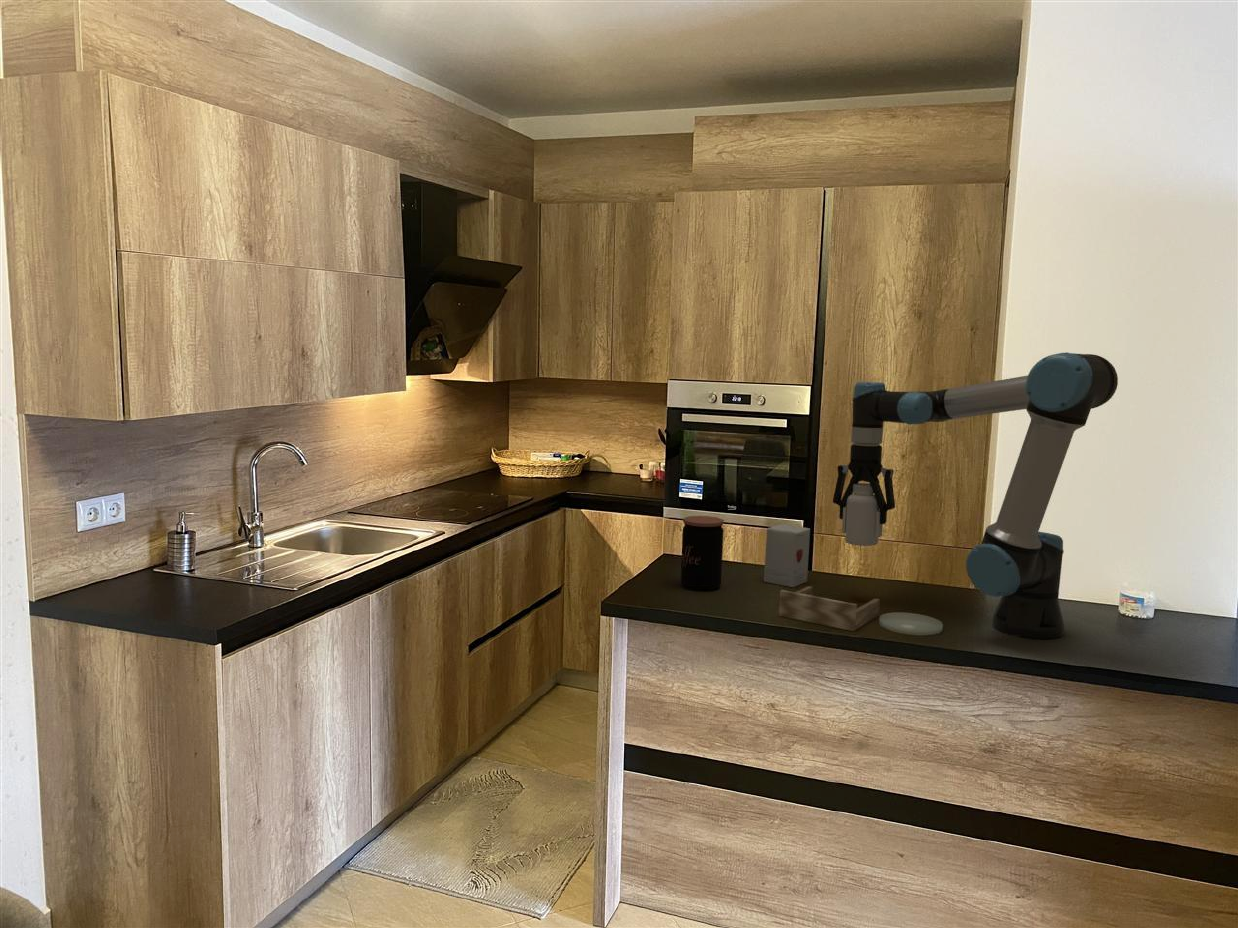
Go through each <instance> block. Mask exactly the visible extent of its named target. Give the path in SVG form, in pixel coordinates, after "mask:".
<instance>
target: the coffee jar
mask: <svg viewBox="0 0 1238 928" xmlns="http://www.w3.org/2000/svg"><path fill="white" fill-rule="evenodd" d="M724 521H725V520H724V519H722V518H720V517H715V516H708V515H690V516H685V517H683V519H682V522H683V524H684V526H683V527H682V536H681V538H682V539H681V560H680V561H681V563H680V583H681V584H682V587H683V588H684V589H686V590H690V591H696V592H711V591H716V590H717V589H719V587H721V584H722V572H723V571H722V570H723V569H722V568H723V550H724V549H723V546H724V544H723V543H724V528H723V525H724Z"/></svg>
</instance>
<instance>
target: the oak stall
mask: <svg viewBox="0 0 1238 928" xmlns="http://www.w3.org/2000/svg"><path fill="white" fill-rule="evenodd" d="M880 602H881V600H880V598H873V599H871V600H870V601H868V602H866V603H865V604H863V605H861V606H859V607H858V604H857V603H853V602H847V601H843V600H842V601H841V600H835V599H831V598H827V597H821V596H816V595H813V586H810V585H808V586H805V587H803V588H801V589H799V590H797V591H790V590H785V589H781V590H779V607H778V612H779V613H778V616H780V617H783V618H784V617H785V618H789V619H794V620H799V621H802V622H803V621H804V622H808V623H812V624H817V625H822V626H827V627H831V628H837V629H840V630H841V629H842V630H846V631H850V632H851V631H852V632H855V631H856V630H858V629H860V628H861V627H862V626H864V625H866V624H868V623H869V622H870V621H872V620H874V619H875V618H877V617H880V616H879V615H880Z"/></svg>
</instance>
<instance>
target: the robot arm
mask: <svg viewBox="0 0 1238 928" xmlns="http://www.w3.org/2000/svg"><path fill="white" fill-rule="evenodd" d="M1118 382H1119V377H1118V373H1117V370H1116V368H1115V366H1114V365H1113V364H1112V363H1111V362H1110V361H1109V360H1108V359H1106V358H1105V357H1103V356H1100V355H1098V354H1092V353H1091V354H1090V353H1073V352H1066V351H1065V352H1058V353H1054V354H1051V355H1047V356H1045V357H1043V358H1041V359H1040V360H1039V361H1037V362H1036V363H1035V364H1034V365H1033V366H1032V368H1031V369H1030V370H1029V373H1028V375H1024V376H1023V375H1022V376H1017V377H1011V378H1004V379H999V380H993V381H987V382H981V383H975V384H969V385H964V386H958V387H951V388H943V389H940V390H932V391H891V390H886V384H885V383H884V382H878V381H876V382H875V381H858V382H856V383H855V385H854V388H853V389H854V390H853V397H852V424H851V434H850V435H851V437H850V439H851V440H850V441H851V442H852V444H851V445H850V457H849V459H850V461H849V463H848V464H840V465H838V466H837V478H836V479H837V480H836V485H835V488H834V493H833V497H832V498H833V499H832V503H833V504H835V505H837V506H839V519H840V520H842V524H841V525H842V526H841V534H846V515H847V499H848V497H849V496H850V495H852V494H854V492H853V485H854V484H857V483H860V482H865V483H868V484H870V485H871V487H872V489H873V492H874V493H873V495H875V498H876V501H877V503H878V506H879V511H877V512H876V531H875V537H877V538H878V539H879V538H881V537H882V536H883V525H886V523H887V521H888V520H887V518H888V511H891V510H893V509H895V508H896V502H895V492H894V484H893V483H894V482H893V475H894V472H895V471H894V469H892V468H890V469H888V468H885V467H884V466H883V465H882V457H883V456H882V455H883V447H882V446H881V444H882V443H883V436H884V434H883V433H884V422H885V423H887V422H888V423H896V424H897V423H898V424H906V425H910V426H911V425H922V424H925V423H927V422H928V423H931V422H934V423H941V422H943V423H944V422H946V421H951V420H954V419H961V418H970V417H976V416H983V415H992V414H999V413H1006V412H1007V413H1008V412H1015V411H1022V410H1026V413H1028V415H1029V417H1030V422H1029V425H1028V428H1027V431H1026V434H1025V437H1024V439H1023V443H1022V445H1021V449H1020V452H1019V454H1018V458H1017V460H1016V463H1015V466H1014V468H1013V469H1014V470H1013V472H1012V475H1011V478H1010V481H1009V483H1008V487H1007V490H1006V493H1005V494H1004V498H1003V501H1002V504H1001V507H1000V509H999V513H998V516H997V518H996V521H995V522H994V523H992V524H990V525H988V526H986V529H985V531H984V535H983V537H982V540H981V542H980V544H979V545H976V546H974V547H973V548H972V549H971V550H970V551H969V553H968V555H967V556H966V561H965V569H966V574H967V576H968V577H969V580H970V582H971V583H972V585H973V586H974V587H975V588H976V589H977V590H978V591H980V592H981V593H982V594H984V595H987V596H991V597H1000V600H999V602H998V604H997V606H996V607H995V610H994V612H993V616H992V626H993V627H994V628H995V629H996V630H999V631H1001V632H1003V633H1007V634H1010V635H1013V636H1018V637H1022V638H1023V637H1024V638H1030V639H1041V640H1043V639H1046V640H1047V639H1058V638H1061V637H1063V636H1064V632H1065V621H1064V619H1063V614H1062V609H1061V606H1060V602H1059V594H1060V584H1061V575H1062V563H1063V556H1064V540H1063V538H1062V537H1061V536H1060V535H1058V534H1054V533H1048V532H1044V531H1040V528H1041V525H1042V522H1043V520H1044V516H1045V514H1046V512H1047V509H1048V506H1049V503H1050V501H1051V497H1052V494H1053V492H1054V490H1055V486H1056V483H1057V481H1058V478H1059V475H1060V472H1061V469H1062V467H1063V464H1064V461H1065V458H1066V456H1067V453H1068V451H1069V447H1070V445H1071V442H1072V439H1073V436H1074V434H1075V432H1076V431H1078V430H1079V429H1081V428H1083V427H1084V426H1086V423H1087V421H1088V418H1089V415H1090V413H1091V410H1092V409H1096V408H1099V407H1101V406H1103V405H1104V404H1106V403H1108V402H1109V401H1110V400H1111V399H1112V398H1113V396H1114V395H1115V393H1116V391H1117V390H1118V389H1117V388H1118V385H1119V384H1118ZM849 471H850V474H851V478H850V480H849V483H848V485H847V487H846V489H845V491H844V487H845V484H846V479H847V473H848V472H849ZM881 473H882V477H883V483H884V484H883V485H884V491H885V492H884V493H885V496H884V493H883V491H882V487H881V485H880V479H879V475H880V474H881ZM843 492H844V493H843Z"/></svg>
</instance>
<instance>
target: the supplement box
mask: <svg viewBox="0 0 1238 928" xmlns="http://www.w3.org/2000/svg"><path fill="white" fill-rule="evenodd" d="M810 536H811V528H808V527H804V526H795V525H789V524H784V523H783V524H778V525H773V526H771V527H768V528H766V537H765V538H766V539H765V540H766V543H765V557H764V558H765V559H764V570H763V571H764V572H763V574H764V575H763V582H765V583H769V584H774V585H779V586H784V587H789V588H794V587H797V586H800V585H802V584H804V583H807V582H808V568H809V554H810V539H811V538H810Z"/></svg>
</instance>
